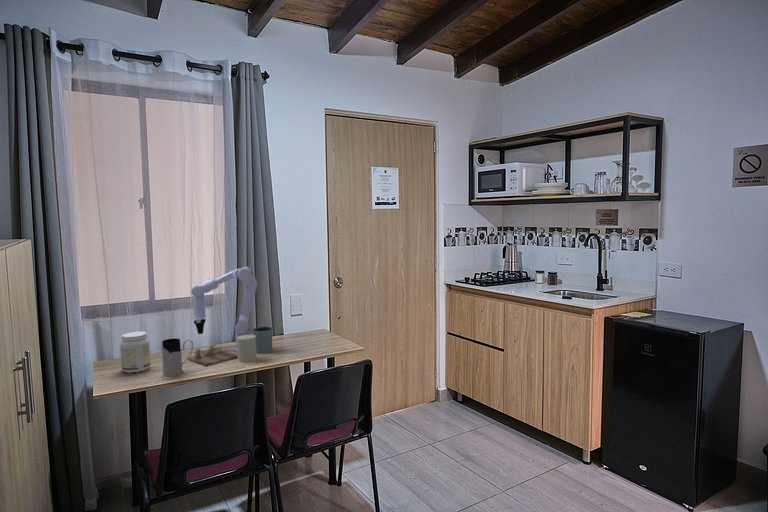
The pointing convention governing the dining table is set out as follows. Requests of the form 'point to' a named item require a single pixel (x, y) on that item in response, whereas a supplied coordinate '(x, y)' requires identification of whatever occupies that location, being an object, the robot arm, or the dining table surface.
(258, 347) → the teal cylindrical container
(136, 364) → the supplement tub
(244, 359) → the can
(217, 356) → the frame board
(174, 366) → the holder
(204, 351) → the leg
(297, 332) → the dining table surface
